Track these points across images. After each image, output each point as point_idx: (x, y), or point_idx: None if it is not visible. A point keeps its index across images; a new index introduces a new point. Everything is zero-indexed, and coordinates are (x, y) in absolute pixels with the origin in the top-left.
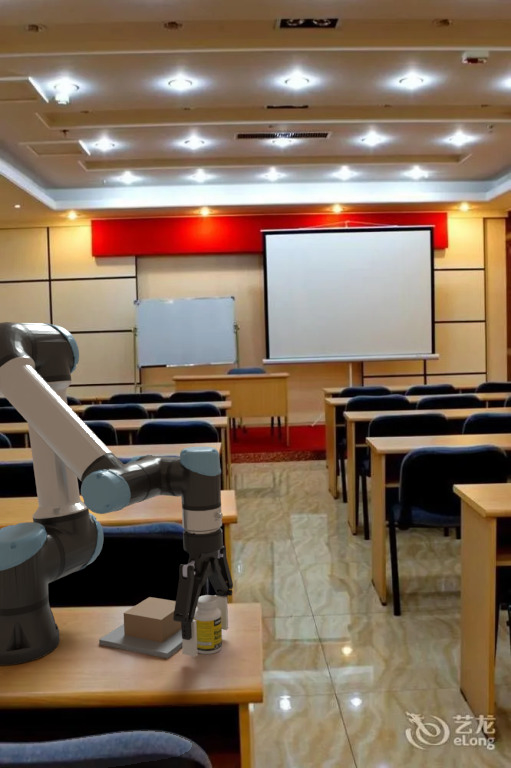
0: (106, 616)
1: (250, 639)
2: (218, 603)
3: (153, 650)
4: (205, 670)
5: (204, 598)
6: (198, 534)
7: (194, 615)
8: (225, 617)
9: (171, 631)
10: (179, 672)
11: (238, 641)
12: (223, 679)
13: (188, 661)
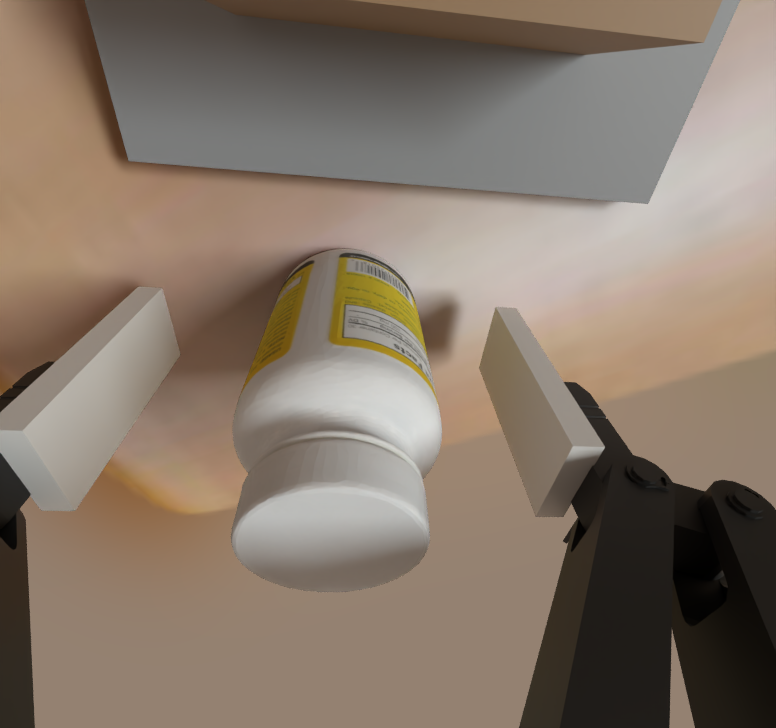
0: None
1: (478, 421)
2: (538, 434)
3: (91, 17)
4: (173, 376)
5: (331, 533)
6: None
7: (247, 394)
8: (496, 409)
9: (374, 26)
10: (82, 291)
11: (452, 392)
12: (161, 445)
13: (192, 281)
